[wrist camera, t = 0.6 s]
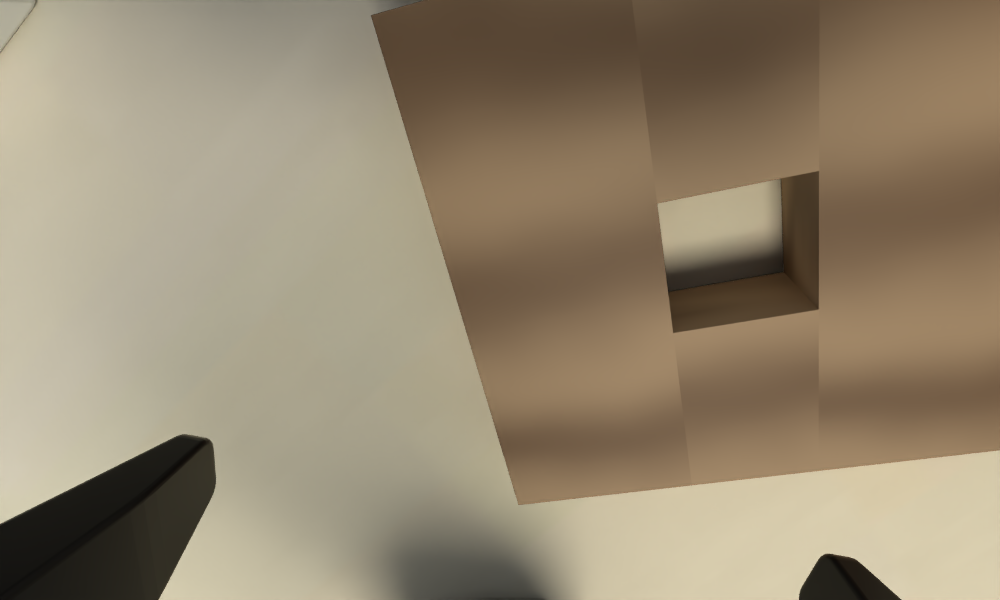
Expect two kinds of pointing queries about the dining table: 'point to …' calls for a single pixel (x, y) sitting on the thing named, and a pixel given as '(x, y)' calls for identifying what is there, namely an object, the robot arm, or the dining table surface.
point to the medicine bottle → (12, 17)
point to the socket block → (699, 170)
